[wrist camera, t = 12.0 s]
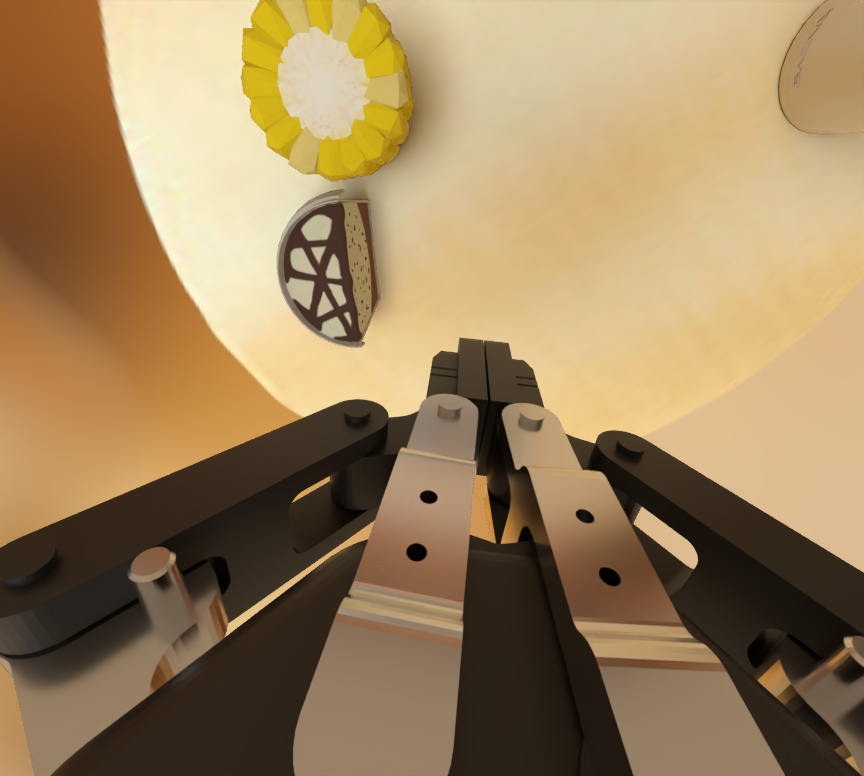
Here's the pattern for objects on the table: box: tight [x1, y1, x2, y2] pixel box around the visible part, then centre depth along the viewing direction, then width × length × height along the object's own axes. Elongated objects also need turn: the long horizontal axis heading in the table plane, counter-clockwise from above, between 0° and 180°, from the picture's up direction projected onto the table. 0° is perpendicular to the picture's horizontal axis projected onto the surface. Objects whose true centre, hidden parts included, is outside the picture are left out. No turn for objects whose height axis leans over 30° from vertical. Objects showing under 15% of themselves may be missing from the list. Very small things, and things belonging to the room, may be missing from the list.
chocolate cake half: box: [277, 189, 380, 348], centre depth 36 cm, size 12×6×10 cm, turn 2°
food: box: [241, 0, 414, 182], centre depth 28 cm, size 15×12×10 cm
